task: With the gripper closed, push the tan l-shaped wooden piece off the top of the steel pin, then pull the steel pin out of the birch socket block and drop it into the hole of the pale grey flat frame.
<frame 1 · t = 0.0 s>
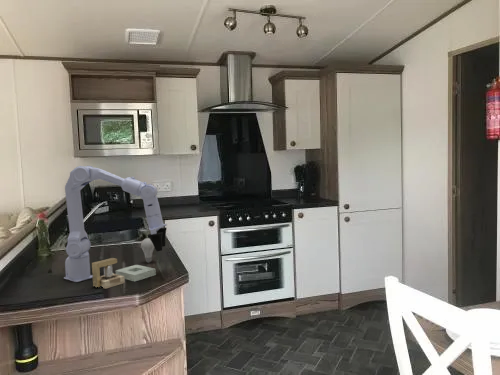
hand: (161, 248, 155), 11 cm above the countertop, tool pointing down, fingers open, 7 cm apart
socket block: (108, 283, 146), on the countertop
steel pin: (108, 284, 146), resting in socket block
tan l-shaped wooden piece: (105, 272, 145), point 5 cm above the countertop, slide at 0.0 cm
lightbulb: (148, 263, 176), on the countertop
pale grey flat frame: (135, 275, 156), on the countertop
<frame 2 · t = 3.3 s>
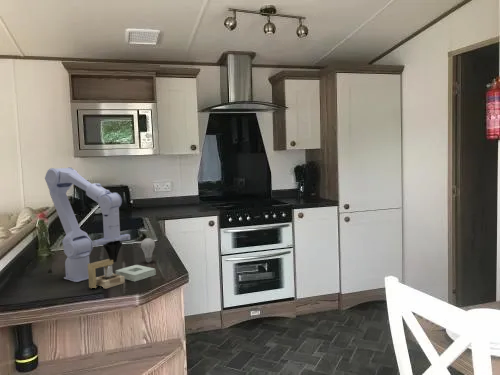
hand: (113, 261, 148), 8 cm above the countertop, tool pointing down, fingers closed
tan l-shaped wooden piece: (101, 273, 144), point 5 cm above the countertop, slide at 1.6 cm, touching gripper
everything else where it was.
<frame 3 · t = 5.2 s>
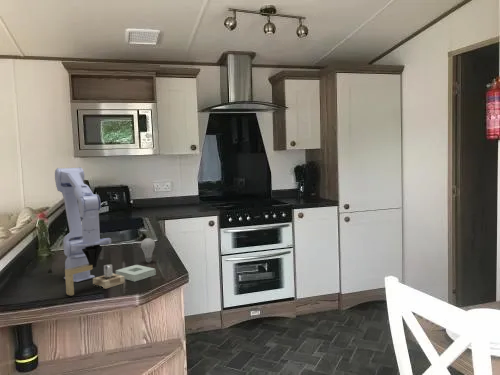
hand: (93, 266, 141), 8 cm above the countertop, tool pointing down, fingers closed
tan l-shaped wooden piece: (79, 279, 137), point 5 cm above the countertop, slide at 10.0 cm, touching gripper
everything else where it was.
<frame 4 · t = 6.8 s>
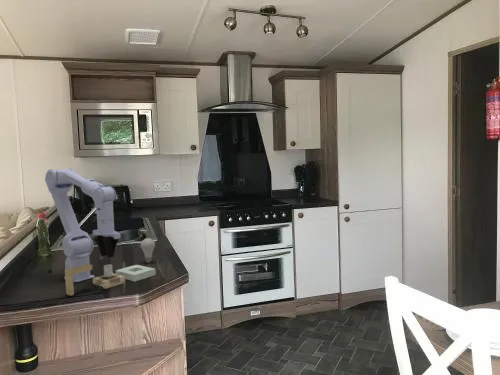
hand: (107, 256, 145), 10 cm above the countertop, tool pointing down, fingers open, 3 cm apart
tan l-shaped wooden piece: (79, 279, 137), point 5 cm above the countertop, slide at 10.0 cm
everything else where it was.
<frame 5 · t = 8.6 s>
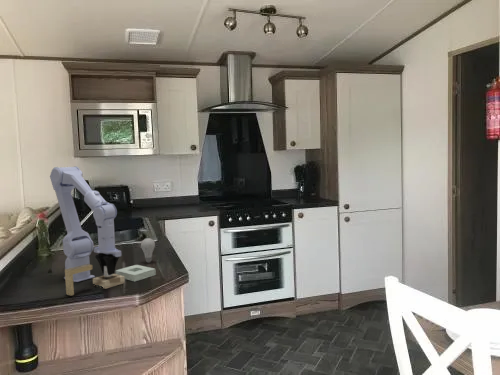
hand: (108, 273, 146), 4 cm above the countertop, tool pointing down, fingers closed on steel pin, 3 cm apart
steel pin: (108, 283, 146), resting in socket block, touching gripper
everything else where it was.
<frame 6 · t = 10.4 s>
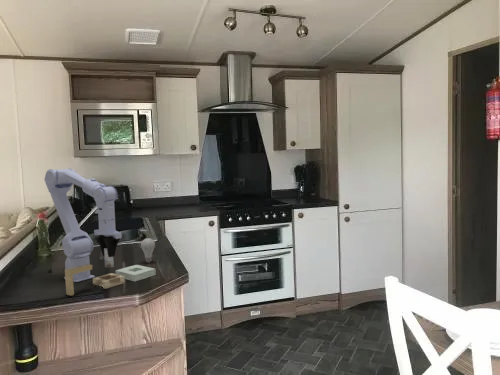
hand: (108, 255, 146), 10 cm above the countertop, tool pointing down, fingers closed on steel pin, 3 cm apart
steel pin: (109, 266, 146), point 6 cm above the countertop, touching gripper
everything else where it was.
when the fingers open (5 cm above the countertop, at t = 12.4 s): steel pin stays where it is, resting in pale grey flat frame.
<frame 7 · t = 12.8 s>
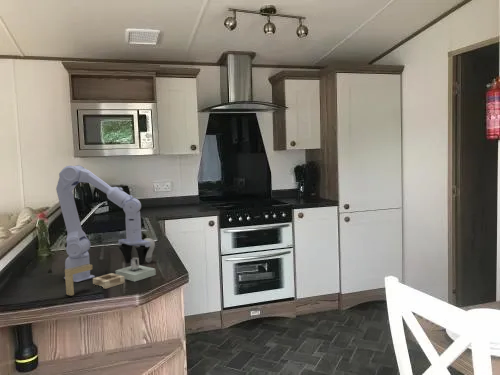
hand: (135, 263, 155), 5 cm above the countertop, tool pointing down, fingers open, 6 cm apart
steel pin: (135, 276, 156), resting in pale grey flat frame
everything else where it was.
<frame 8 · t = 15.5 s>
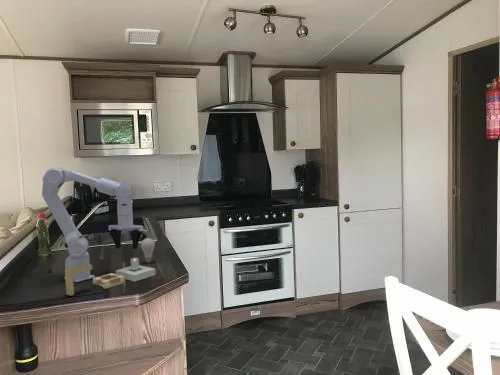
hand: (126, 248, 158), 10 cm above the countertop, tool pointing down, fingers open, 7 cm apart
nothing on the countertop moved.
at the end: tan l-shaped wooden piece slide at 10.0 cm; steel pin 0.2 cm off-centre on the pale grey flat frame, point 0.0 cm above the pale grey flat frame's base; steel pin tilted 0° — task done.
